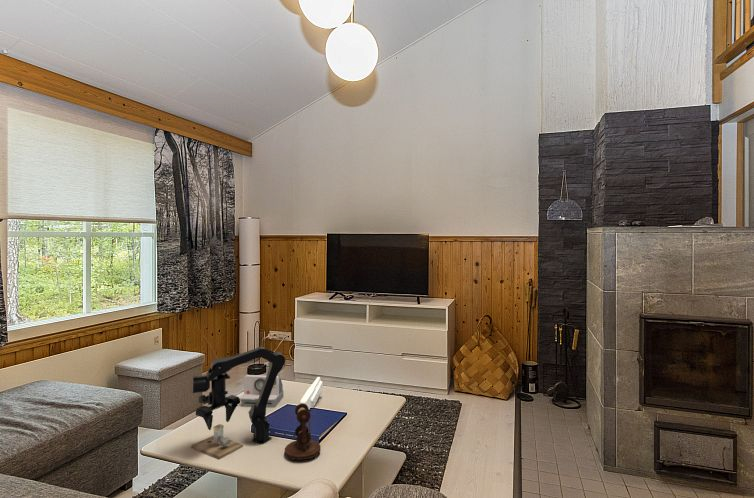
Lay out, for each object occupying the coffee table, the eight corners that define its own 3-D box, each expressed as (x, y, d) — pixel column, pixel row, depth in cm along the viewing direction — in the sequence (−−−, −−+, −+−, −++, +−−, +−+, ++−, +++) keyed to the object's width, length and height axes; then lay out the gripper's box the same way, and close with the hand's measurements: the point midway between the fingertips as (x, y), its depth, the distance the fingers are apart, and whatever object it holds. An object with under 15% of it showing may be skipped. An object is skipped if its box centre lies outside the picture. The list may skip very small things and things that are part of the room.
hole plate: (242, 447, 183) (242, 436, 183) (219, 459, 173) (219, 447, 173) (214, 437, 192) (214, 426, 192) (191, 448, 182) (191, 437, 182)
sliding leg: (223, 443, 183) (223, 425, 183) (217, 446, 180) (217, 428, 180) (219, 442, 184) (219, 424, 184) (213, 445, 181) (213, 426, 181)
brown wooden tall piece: (323, 460, 172) (323, 411, 172) (286, 465, 168) (286, 415, 168) (317, 443, 186) (317, 398, 186) (283, 448, 182) (283, 401, 182)
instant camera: (236, 406, 228) (235, 378, 228) (255, 393, 249) (255, 367, 248) (272, 410, 224) (272, 382, 223) (289, 396, 244) (289, 370, 244)
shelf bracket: (325, 397, 242) (323, 377, 240) (309, 424, 218) (307, 402, 216) (316, 396, 243) (314, 376, 241) (299, 423, 220) (297, 401, 217)
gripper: (223, 380, 194) (224, 414, 194) (187, 392, 178) (187, 429, 178) (240, 384, 188) (240, 419, 188) (204, 397, 172) (204, 436, 172)
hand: (218, 425), depth 182 cm, fingers open, 9 cm apart
